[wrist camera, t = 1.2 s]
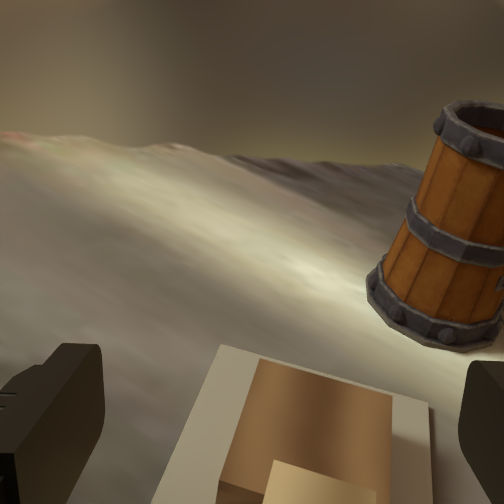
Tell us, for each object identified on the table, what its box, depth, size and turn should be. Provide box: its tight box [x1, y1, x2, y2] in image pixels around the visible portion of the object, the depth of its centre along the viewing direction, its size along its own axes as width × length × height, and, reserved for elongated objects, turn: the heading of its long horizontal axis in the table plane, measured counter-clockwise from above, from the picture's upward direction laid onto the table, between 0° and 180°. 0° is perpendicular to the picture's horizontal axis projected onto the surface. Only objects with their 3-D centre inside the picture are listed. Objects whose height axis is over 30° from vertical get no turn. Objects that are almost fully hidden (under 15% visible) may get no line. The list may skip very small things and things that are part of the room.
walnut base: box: [215, 358, 393, 504], centre depth 33 cm, size 10×10×4 cm
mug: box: [366, 100, 504, 353], centre depth 45 cm, size 19×14×20 cm
